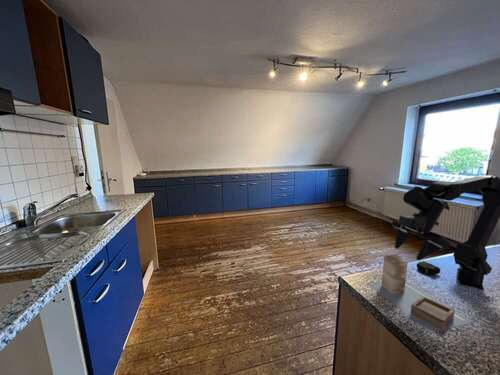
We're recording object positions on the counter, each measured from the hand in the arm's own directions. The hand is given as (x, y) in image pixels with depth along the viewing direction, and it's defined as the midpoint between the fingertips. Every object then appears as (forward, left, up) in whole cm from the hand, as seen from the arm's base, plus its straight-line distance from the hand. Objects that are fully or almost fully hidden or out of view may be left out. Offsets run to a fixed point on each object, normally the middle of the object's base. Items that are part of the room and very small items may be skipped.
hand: (406, 253), depth 80 cm
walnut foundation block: (-7, +12, -14) cm, 19 cm away
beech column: (+3, +2, -14) cm, 14 cm away
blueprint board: (-3, +6, -15) cm, 16 cm away
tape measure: (-10, -21, -15) cm, 27 cm away
